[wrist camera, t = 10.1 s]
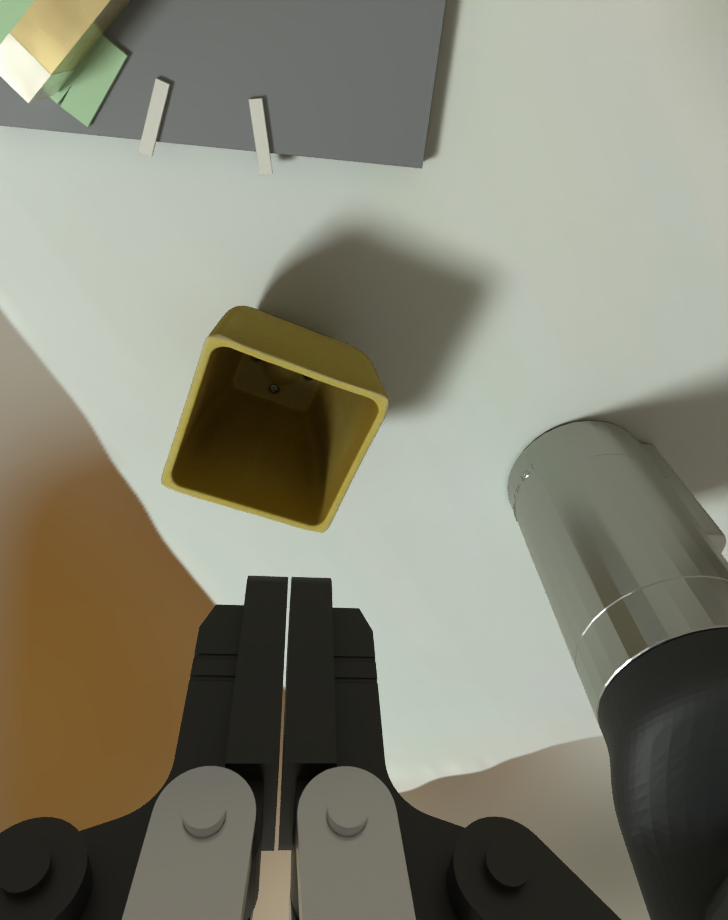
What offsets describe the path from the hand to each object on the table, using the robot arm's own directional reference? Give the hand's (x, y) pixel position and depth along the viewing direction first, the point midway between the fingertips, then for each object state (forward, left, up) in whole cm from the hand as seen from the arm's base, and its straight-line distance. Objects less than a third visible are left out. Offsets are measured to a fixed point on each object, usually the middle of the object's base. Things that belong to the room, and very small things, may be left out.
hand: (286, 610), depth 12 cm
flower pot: (+1, +8, -27) cm, 28 cm away
